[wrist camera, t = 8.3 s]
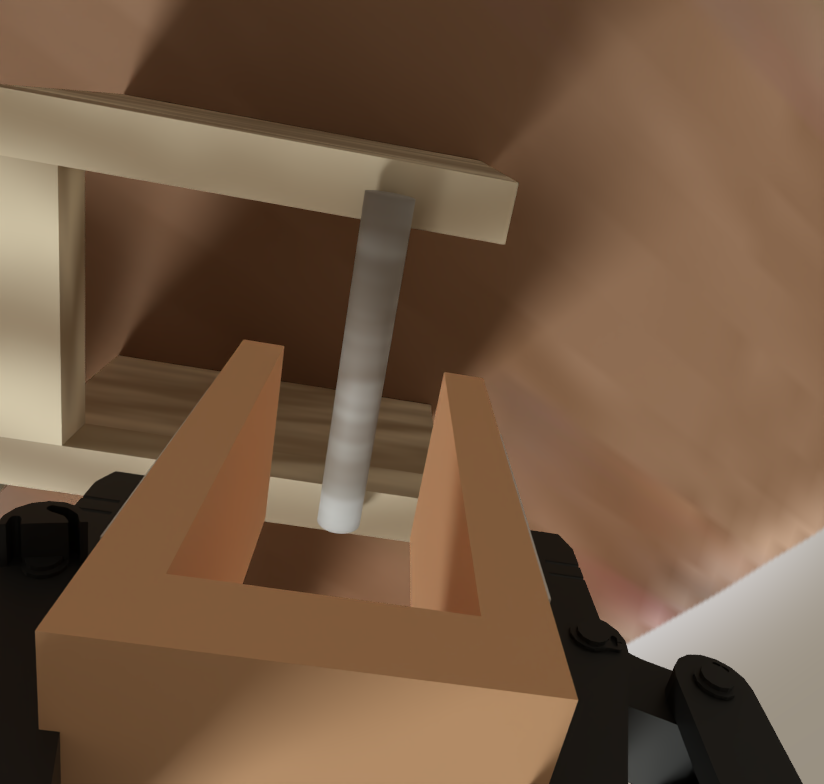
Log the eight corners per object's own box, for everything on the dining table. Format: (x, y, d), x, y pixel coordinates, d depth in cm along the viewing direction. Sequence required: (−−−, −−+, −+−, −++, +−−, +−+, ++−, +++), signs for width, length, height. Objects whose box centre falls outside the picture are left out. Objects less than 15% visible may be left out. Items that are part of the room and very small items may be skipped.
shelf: (123, 94, 32) (-61, 79, 19) (480, 160, 33) (527, 187, 21) (118, 372, 37) (-31, 505, 24) (427, 421, 38) (439, 570, 26)
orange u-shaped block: (243, 339, 17) (34, 630, 7) (483, 378, 17) (577, 699, 8) (228, 512, 19) (46, 924, 9) (445, 543, 19) (484, 967, 10)
